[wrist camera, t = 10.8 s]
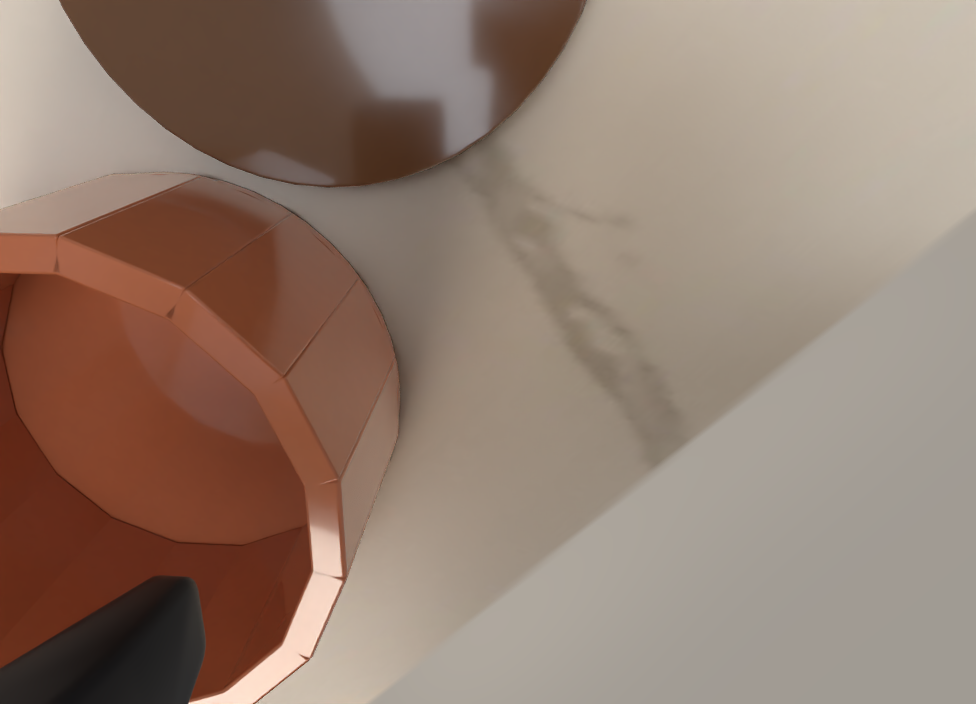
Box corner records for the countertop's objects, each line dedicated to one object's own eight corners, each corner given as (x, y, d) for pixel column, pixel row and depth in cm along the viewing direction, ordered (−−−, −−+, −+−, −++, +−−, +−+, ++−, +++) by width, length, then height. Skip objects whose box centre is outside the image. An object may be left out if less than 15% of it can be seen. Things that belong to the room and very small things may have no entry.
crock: (488, 392, 21) (465, 537, 15) (227, 617, 24) (123, 810, 18) (151, 70, 18) (-41, 87, 12) (-87, 371, 21) (-329, 500, 15)
